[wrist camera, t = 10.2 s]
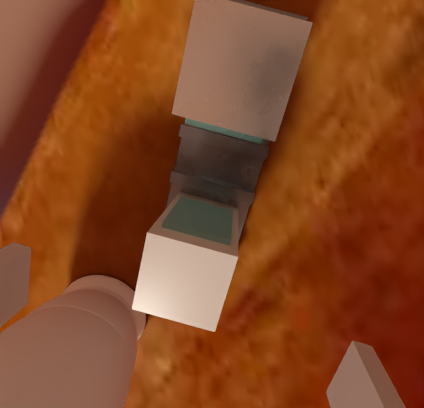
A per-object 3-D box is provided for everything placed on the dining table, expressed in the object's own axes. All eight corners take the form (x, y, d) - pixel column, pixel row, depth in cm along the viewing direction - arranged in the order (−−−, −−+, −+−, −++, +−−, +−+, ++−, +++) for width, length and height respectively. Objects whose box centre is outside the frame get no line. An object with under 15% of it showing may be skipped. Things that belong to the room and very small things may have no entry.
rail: (215, 4, 20) (194, -105, 10) (301, 27, 19) (362, -61, 10) (158, 260, 25) (110, 345, 16) (224, 278, 25) (215, 374, 16)
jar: (121, 373, 30) (12, 613, 15) (34, 318, 29) (-171, 520, 14) (179, 305, 27) (110, 522, 12) (83, 241, 26) (-112, 397, 11)
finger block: (180, 187, 21) (148, 226, 14) (239, 203, 21) (240, 251, 14) (167, 245, 23) (131, 309, 15) (222, 260, 23) (214, 331, 15)
